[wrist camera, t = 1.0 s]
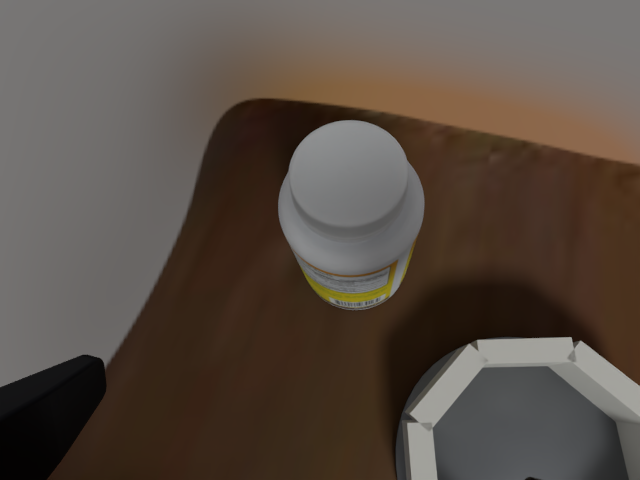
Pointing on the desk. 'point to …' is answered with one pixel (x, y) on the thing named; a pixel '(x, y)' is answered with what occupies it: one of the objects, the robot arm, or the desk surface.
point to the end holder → (521, 415)
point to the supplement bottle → (351, 212)
